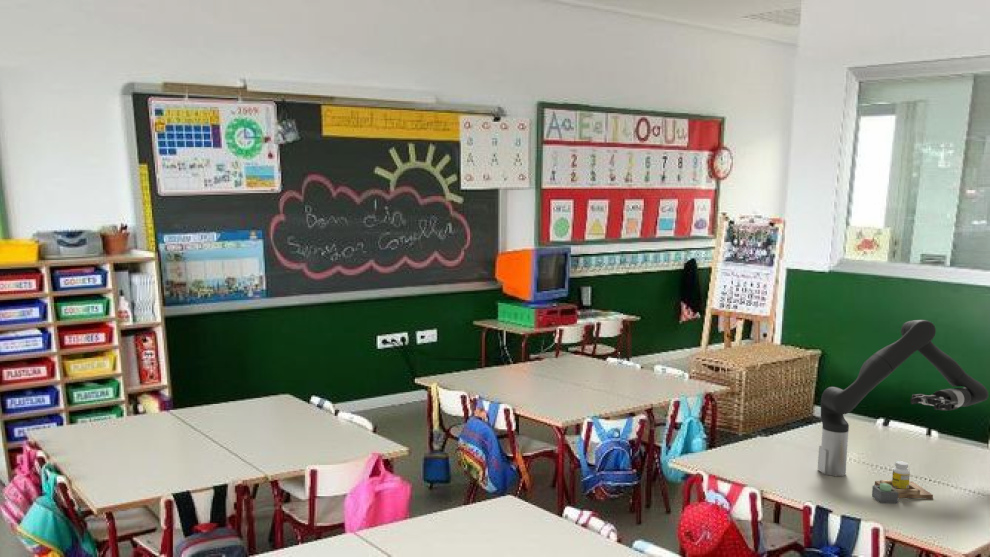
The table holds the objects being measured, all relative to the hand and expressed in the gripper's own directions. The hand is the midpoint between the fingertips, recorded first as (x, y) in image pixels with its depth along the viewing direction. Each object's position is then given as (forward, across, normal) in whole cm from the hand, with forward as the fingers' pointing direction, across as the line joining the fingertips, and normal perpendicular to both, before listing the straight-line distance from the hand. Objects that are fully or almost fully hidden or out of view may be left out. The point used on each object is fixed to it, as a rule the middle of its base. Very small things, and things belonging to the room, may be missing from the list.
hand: (923, 403), depth 271 cm
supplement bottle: (+10, 0, -31) cm, 32 cm away
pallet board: (+8, 0, -32) cm, 33 cm away
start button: (+21, -1, -30) cm, 37 cm away
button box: (+21, -1, -32) cm, 39 cm away
